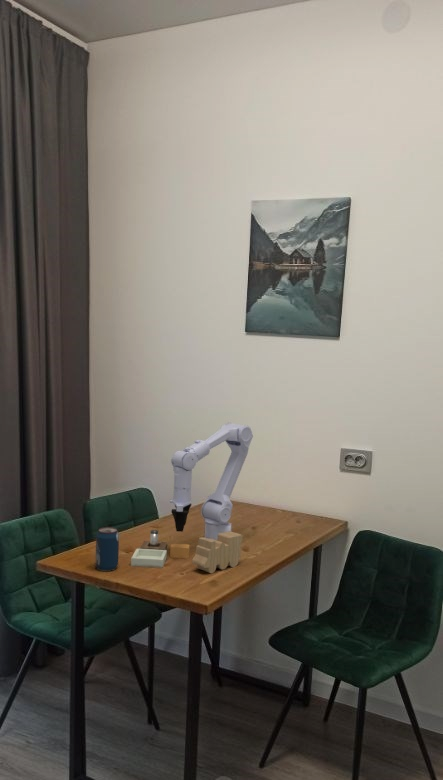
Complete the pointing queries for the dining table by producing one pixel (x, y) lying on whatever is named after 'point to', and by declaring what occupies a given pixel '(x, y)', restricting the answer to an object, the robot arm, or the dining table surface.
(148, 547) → the socket block
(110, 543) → the soda can
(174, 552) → the block
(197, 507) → the dining table surface
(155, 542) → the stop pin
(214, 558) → the toy train
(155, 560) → the tray
